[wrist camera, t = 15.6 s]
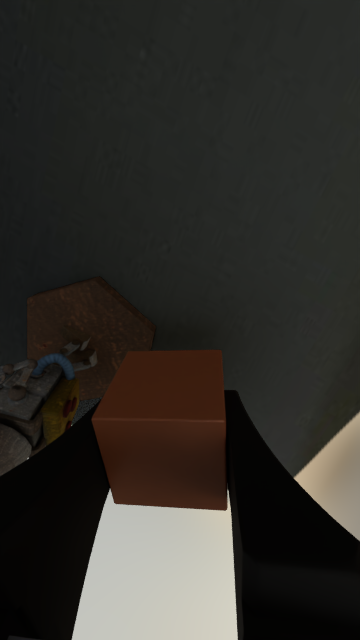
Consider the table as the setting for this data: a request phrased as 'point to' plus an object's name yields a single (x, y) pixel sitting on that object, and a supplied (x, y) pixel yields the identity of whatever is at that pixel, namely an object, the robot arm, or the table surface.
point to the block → (165, 430)
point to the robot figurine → (65, 363)
